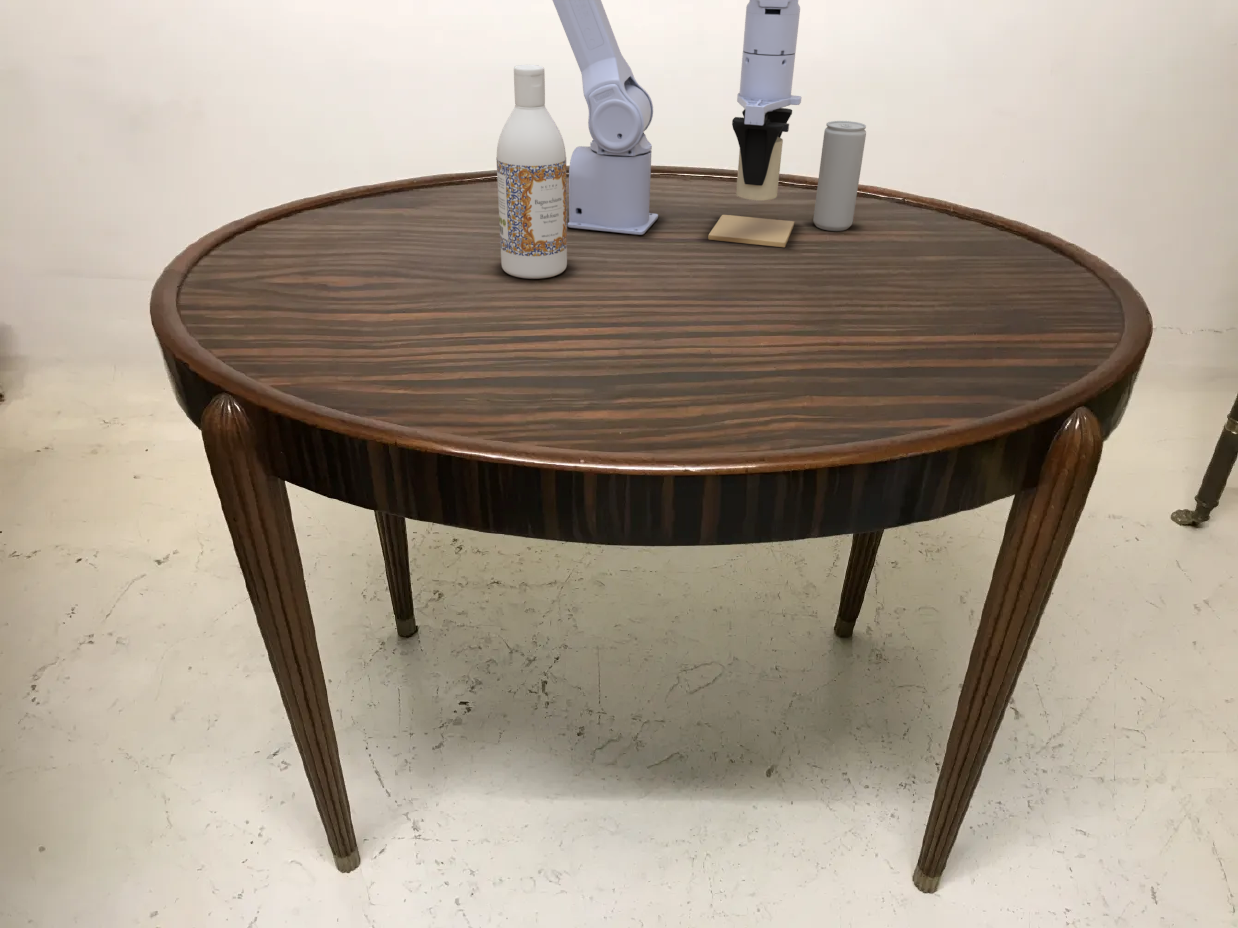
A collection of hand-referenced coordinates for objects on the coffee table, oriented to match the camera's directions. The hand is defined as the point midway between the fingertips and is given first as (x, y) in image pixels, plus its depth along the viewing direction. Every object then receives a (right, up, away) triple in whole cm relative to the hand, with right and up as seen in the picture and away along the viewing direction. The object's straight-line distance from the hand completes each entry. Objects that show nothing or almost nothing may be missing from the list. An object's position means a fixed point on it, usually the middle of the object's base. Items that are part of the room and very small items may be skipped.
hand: (757, 179), depth 108 cm
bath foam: (-25, -13, -10) cm, 30 cm away
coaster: (0, -5, +3) cm, 6 cm away
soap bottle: (0, -2, +1) cm, 2 cm away
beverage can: (+10, -4, +6) cm, 13 cm away
